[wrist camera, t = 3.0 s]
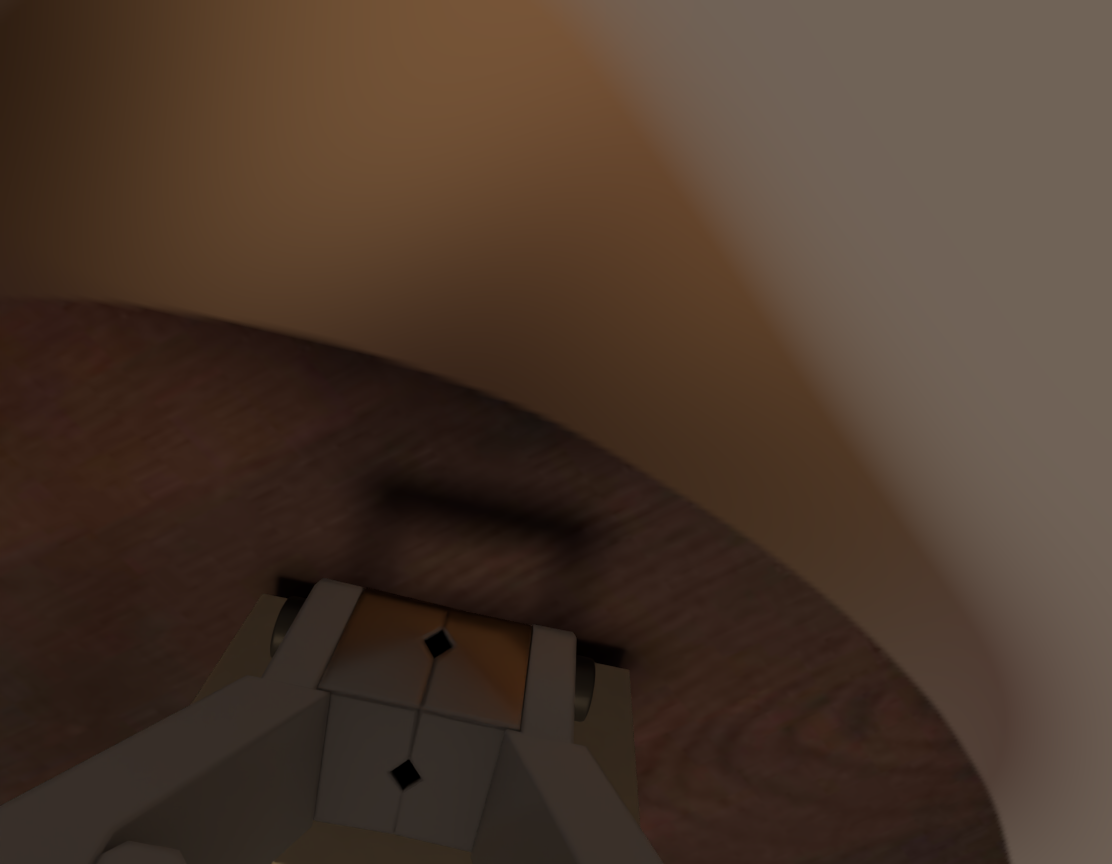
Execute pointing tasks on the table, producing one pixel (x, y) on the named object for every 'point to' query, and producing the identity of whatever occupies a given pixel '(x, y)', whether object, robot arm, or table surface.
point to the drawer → (391, 860)
